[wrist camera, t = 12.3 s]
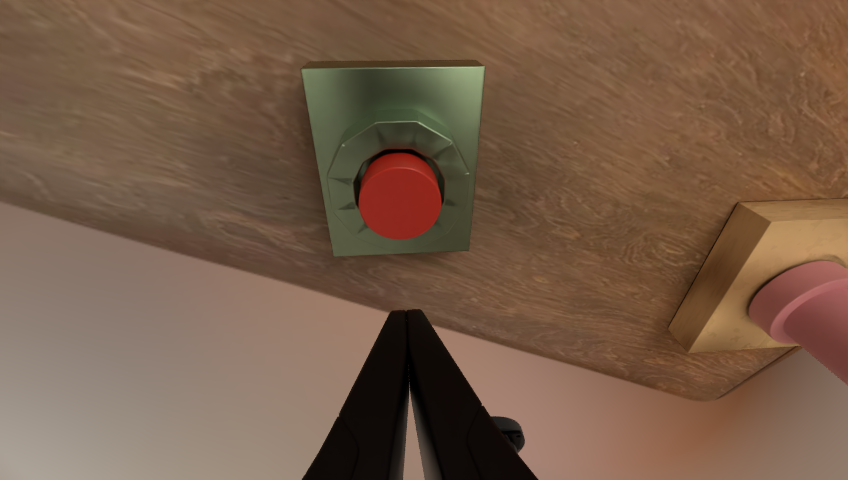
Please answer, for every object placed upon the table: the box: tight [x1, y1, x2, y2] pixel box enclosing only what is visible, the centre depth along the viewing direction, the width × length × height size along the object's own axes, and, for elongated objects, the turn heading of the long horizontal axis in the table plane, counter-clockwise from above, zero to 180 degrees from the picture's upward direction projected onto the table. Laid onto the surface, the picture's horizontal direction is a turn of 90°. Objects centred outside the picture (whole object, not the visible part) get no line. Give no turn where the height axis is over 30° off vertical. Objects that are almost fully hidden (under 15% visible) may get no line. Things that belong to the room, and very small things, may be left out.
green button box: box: [301, 60, 485, 257], centre depth 18 cm, size 10×8×4 cm
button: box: [359, 152, 442, 240], centre depth 16 cm, size 4×4×2 cm
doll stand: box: [668, 198, 848, 353], centre depth 26 cm, size 12×10×2 cm
